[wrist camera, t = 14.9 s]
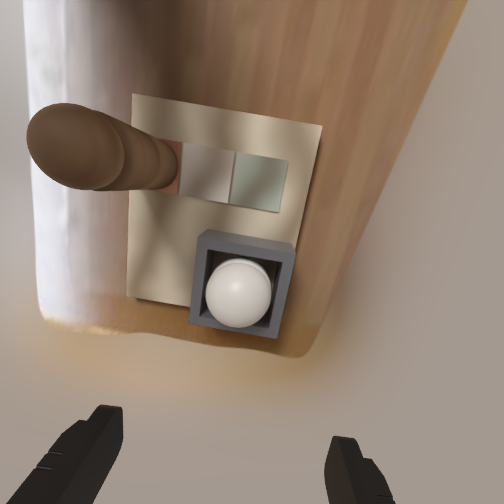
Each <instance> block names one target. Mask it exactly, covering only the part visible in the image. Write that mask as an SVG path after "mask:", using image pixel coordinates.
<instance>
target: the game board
mask: <svg viewBox="0 0 504 504" xmlns="http://www.w3.org/2000/svg"><path fill="white" fill-rule="evenodd" d="M131 126H132V127H134V128H137V129H139V130H141V131H143V132H145V133H147V134H150V135H152V136H154V137H156V138H158V139H160V140H162V141H164V142H166V143H167V144H168V145H169V146H170V147H171V148H172V149H173V150H174V152H175V154H176V156H177V160H178V173H177V176H176V178H175V180H174V181H173V182H172V183H171V184H170V185H169V186H167V187H165V188H163V189H151V190H129V220H128V253H127V287H126V296H130V297H135V298H141V299H147V300H153V301H158V302H164V303H170V304H175V305H181V306H187V307H190V303H191V293H192V284H193V275H194V266H195V257H196V247H197V238H198V236H199V235H200V234H202V233H203V232H204V231H206V230H207V229H211V230H217V231H223V232H228V233H234V234H240V235H246V236H251V237H257V238H263V239H269V240H274V241H280V242H286V243H291V244H292V246H293V248H294V250H295V247H296V243H297V238H298V234H299V229H300V225H301V220H302V216H303V211H304V207H305V202H306V198H307V193H308V189H309V184H310V180H311V176H312V171H313V167H314V162H315V158H316V153H317V149H318V144H319V140H320V135H321V131H322V126H320V125H314V124H308V123H302V122H297V121H291V120H285V119H279V118H274V117H268V116H262V115H256V114H250V113H245V112H239V111H233V110H227V109H221V108H216V107H210V106H204V105H198V104H193V103H187V102H181V101H175V100H169V99H164V98H158V97H152V96H146V95H141V94H135V93H132V119H131ZM237 256H243V257H248V258H251V259H254V260H256V261H257V262H259V263H260V264H261V265H262V266H263V267H264V268H265V269H266V271H267V272H268V275H269V277H270V282H271V294H272V289H273V284H274V279H275V274H276V269H277V264H278V261H273V260H267V259H261V258H256V257H250V256H244V255H239V254H233V253H227V252H221V251H216V250H214V257H213V265H212V272H211V275H212V274H213V272H214V270H215V269H216V267H217V266H218V265H219V264H220V263H221V262H223V261H224V260H226V259H228V258H231V257H237ZM268 308H269V307H268Z"/></svg>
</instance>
